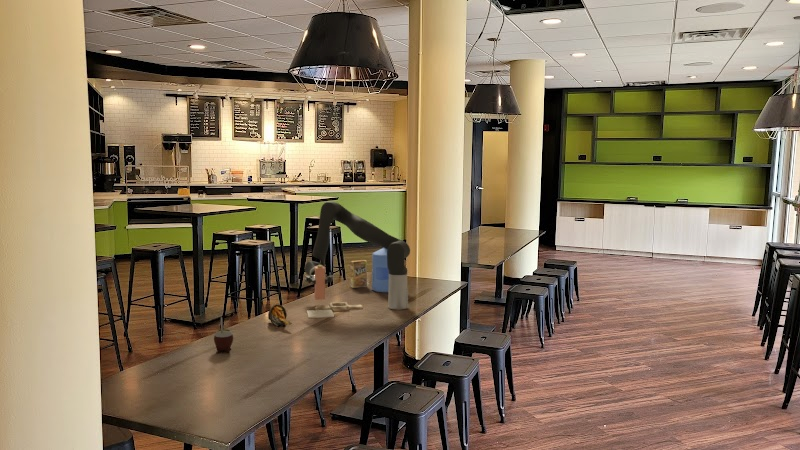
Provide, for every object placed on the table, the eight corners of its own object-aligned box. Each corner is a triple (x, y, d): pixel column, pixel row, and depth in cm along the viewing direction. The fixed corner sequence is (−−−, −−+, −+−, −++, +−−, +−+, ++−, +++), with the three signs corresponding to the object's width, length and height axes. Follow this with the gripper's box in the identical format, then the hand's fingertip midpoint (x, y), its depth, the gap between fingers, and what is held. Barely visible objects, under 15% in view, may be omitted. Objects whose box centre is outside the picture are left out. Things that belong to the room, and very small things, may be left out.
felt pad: (331, 310, 305) (331, 309, 305) (334, 316, 294) (334, 315, 294) (306, 311, 303) (306, 310, 303) (308, 318, 291) (308, 316, 291)
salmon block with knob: (324, 297, 300) (324, 264, 298) (324, 299, 296) (325, 266, 294) (314, 297, 299) (314, 264, 297) (315, 299, 295) (315, 266, 293)
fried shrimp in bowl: (280, 308, 289) (304, 302, 277) (277, 332, 285) (301, 327, 273) (263, 304, 283) (287, 297, 271) (260, 328, 279) (283, 322, 267)
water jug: (367, 288, 358) (368, 239, 355) (392, 286, 365) (393, 238, 362) (378, 293, 344) (378, 243, 341) (404, 291, 351) (404, 242, 348)
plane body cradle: (360, 305, 317) (360, 301, 317) (363, 309, 308) (363, 305, 308) (314, 307, 312) (314, 303, 312) (316, 311, 303) (316, 307, 303)
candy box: (353, 288, 357) (353, 261, 356) (350, 286, 361) (350, 260, 359) (367, 287, 362) (367, 260, 360) (364, 285, 365) (364, 259, 364)
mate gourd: (226, 347, 246) (225, 309, 244) (238, 351, 241) (237, 313, 239) (209, 351, 240) (208, 313, 238) (221, 356, 235) (221, 317, 233)
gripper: (303, 267, 309) (305, 274, 292) (332, 267, 312) (335, 273, 295) (302, 282, 310) (305, 290, 293) (331, 282, 313) (335, 289, 296)
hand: (320, 282), depth 294 cm, fingers closed on salmon block with knob, 4 cm apart
